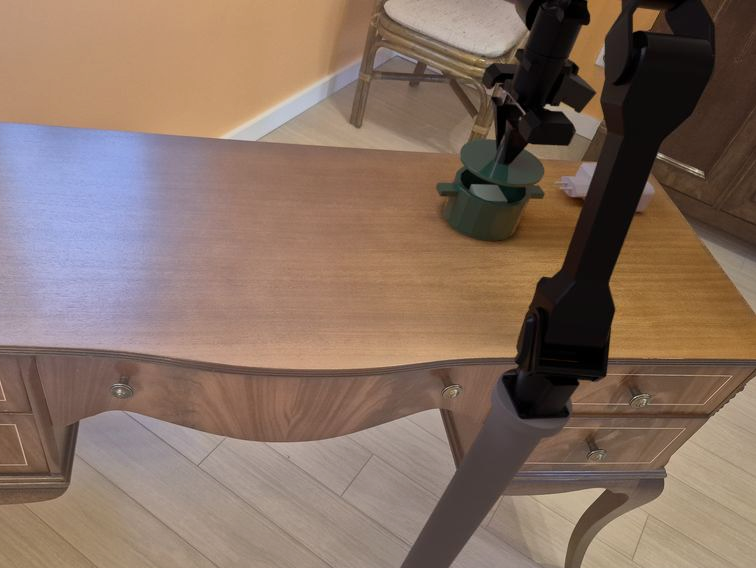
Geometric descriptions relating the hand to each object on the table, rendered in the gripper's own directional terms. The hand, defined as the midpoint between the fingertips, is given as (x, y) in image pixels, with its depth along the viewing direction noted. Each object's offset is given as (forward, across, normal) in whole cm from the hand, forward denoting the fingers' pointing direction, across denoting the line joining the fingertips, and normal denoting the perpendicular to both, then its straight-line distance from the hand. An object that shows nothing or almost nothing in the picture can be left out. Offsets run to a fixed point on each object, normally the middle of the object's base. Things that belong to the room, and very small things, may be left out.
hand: (503, 158), depth 91 cm
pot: (+11, 0, 0) cm, 11 cm away
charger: (+11, +7, -23) cm, 26 cm away
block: (+10, 0, 0) cm, 10 cm away
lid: (+1, 0, 0) cm, 1 cm away
